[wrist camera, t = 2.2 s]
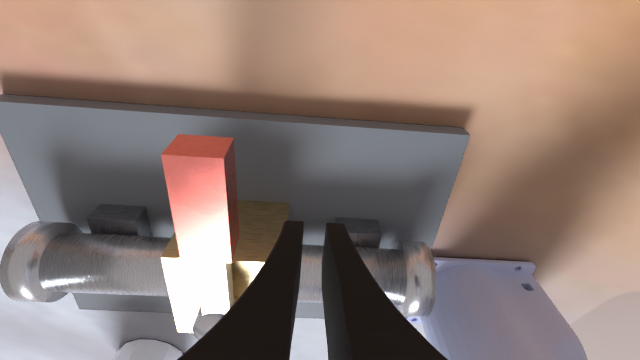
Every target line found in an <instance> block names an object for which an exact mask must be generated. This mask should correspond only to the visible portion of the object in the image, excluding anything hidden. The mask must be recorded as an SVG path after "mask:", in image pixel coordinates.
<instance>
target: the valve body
mask: <svg viewBox="0 0 640 360" xmlns="http://www.w3.org/2000/svg"><path fill="white" fill-rule="evenodd" d="M238 218H239V235H240V236H239V240H238V243H237V247H236V250H235V254H234V257H233V260H232V263H231V268H232V281H233V293H234V300H236V301H237V300H238V299H239V297H240V296H241V295H242V294H243V292H244V291H245V290H246V289H247V287H248V286H249V285H250V283H251V282H252V281H253V279H254V278H255V276H256V275H257V273H258V272H259V270H260V269H261V267H262V266H263V264H264V263H265V261H266V260H267V258H268V256H269V254H270V252H271V251H272V249H273V247H274V245H275V243H276V241H277V239H278V237H279V235H280V233H281V230H282V227H283V224H284V222H286V221H287V220H289V203H284V202H267V201H250V200H238ZM86 219H87V222H88V225H89V228H90V230H91V233H92V234H91V233H83V232H82V231H81V229H80V228H79V227H78V226H76V225H75V224H72V223H64V222H45V221H38V222H33V223H31V224H28V225H26V226H25V227H23V228H22V229H21V230H19V231H18V232H17V233H16V234H15V235H14V237H13V238H12V239H11V241H10V242H9V244H8V245H7V247H6V249H5V251H4V254H3V256H2V260H1V264H0V283H1V286H2V289H3V291H4V292H5V294H6V295H7V296H8V297H10V298H11V299H13V300H16V301H30V302H54V301H57V300H59V299H61V298H63V297H64V296H65V295H67V294H68V293H69V292H71V293H96V294H120V295H144V296H168V297H170V301H171V306H172V310H173V314H174V319H175V323H176V328H177V332H186V333H193V330H192V328H193V324H194V322H195V319H196V316H197V313H198V310H199V307H200V305H201V303H200V297H199V291H198V284H197V278H196V272H195V265H194V261H181V260H180V255H179V249H178V244H177V238H176V233H175V232H174V234H173V236H172V237H171V238H169V237H153V235H152V231H151V227H150V222H149V218H148V214H147V210H146V206H128V205H110V204H100V205H99V206H98V207H97V208H96V209H95V210H94V211H93V212H92V213H91V214H90V215H89V216H88V217H87V218H86ZM335 223H343V224H344V225H345V226H346V229H347V231H348V233H349V236H350V238H351V240H352V242H353V244H354V246H355V247H356V249H357V251H358V253H359V255H360V256H361V258H362V260H363V261H364V263H365V265H366V266H367V268H368V270H369V271H370V273H371V274H372V276H373V277H374V279H375V280H376V282H377V283H378V284H379V286H380V287H381V289H382V290H383V291H384V293H385V294H386V295H387V297H388V298H389V299H390V300H391V302H392V303H393V304H394V305H395V307H396V308H397V309H398V310H399V311H400V312H401V314H402V315H403V316H408V317H427V316H429V315H430V314H431V312H432V310H433V307H434V304H435V300H436V292H437V276H436V267H435V262H434V258H433V255H432V252H431V250H430V248H429V246H428V245H427V244H426V243H425V242H423V241H405V240H397V241H396V242H395V243H394V245H393V247H392V249H384V248H379V245H380V241H381V237H382V233H381V229H380V225H379V221H378V220H377V219H360V218H342V217H336V220H335ZM323 247H324V245H306V244H303V246H302V260H301V273H300V287H299V294H298V301H297V302H313V303H323V298H322V256H323Z"/></svg>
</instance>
